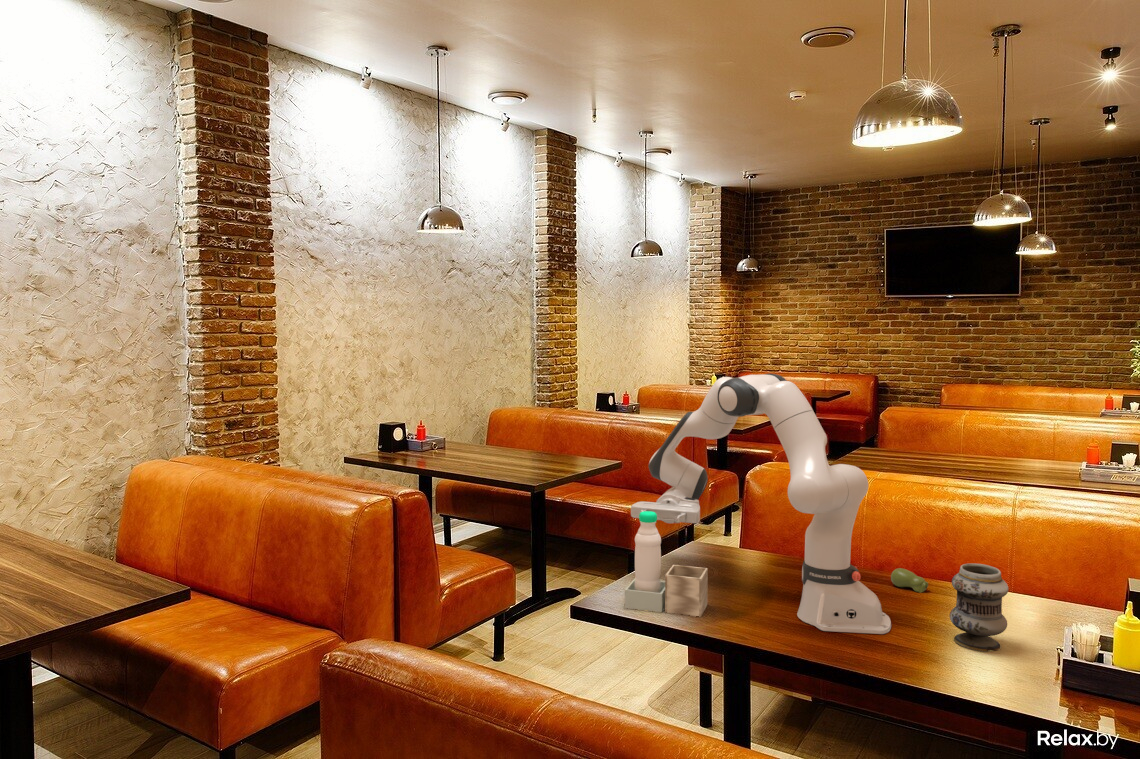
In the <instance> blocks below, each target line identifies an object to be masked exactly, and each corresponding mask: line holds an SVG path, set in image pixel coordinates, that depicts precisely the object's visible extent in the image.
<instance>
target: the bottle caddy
mask: <svg viewBox="0 0 1140 759" xmlns="http://www.w3.org/2000/svg"><path fill="white" fill-rule="evenodd" d="M627 608H628V610H635V609H639V610H638V611H643V610H649V611H648V612H652V611H655V612H654V613H660V612H662V611H663V612H664V611H665V609H664V608H665V580H664V581H662V580H661V589H660V593H655V592H646V591H637V590H635V577H634V579H633V580H632V581H631V582H630V583H629V584H628V585H627V587H626V588H624V609H627ZM663 612H662V613H663Z"/></svg>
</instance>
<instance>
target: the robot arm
mask: <svg viewBox="0 0 1140 759" xmlns="http://www.w3.org/2000/svg"><path fill="white" fill-rule="evenodd" d="M764 414H765V415H766V416H767V417H768V419H769V421H770V423H771V425H772V427H773V430H774V432H775V433H776V436H777V438H778V440H779V441H780V444H781V445H782V448H783V451H784V452H785V455H786V458H787V460H788V465H789V466H788V467H789V472H790V479H789V480H790V481H789V483H788V486H787V498H788V501H789V502H790V504H791V506H792V507H793V508H794V510H796V511H798V512H800V513H803V514H810V515H813V517H812V520H811V522H810V523H809V525H808V526H807V528H806V530H805V533H804V560H803V562H802V568H801V581H802V584H803V585H802V592H801V599H800V602H799V603H800V604H799V607H798V610H797V613H796V615H797V617H798V619H800V620H801V621H802V622H803V623H806V624H809V625H811V626H814V627H816V628H817V629H818V630H820V631H823V632H837V633H856V634H872V635H873V634H875V635H876V634H877V635H885V634H887V633H889V632H890V631H891V630H892V621H891V618H890V616H889V615H888V614H886V612H883V610H882V604H881V601H880V600H879V597H878V596H877V595H876V593H874V592H873V591H872V590H871V589H869V587H867V586H866V585H865V584H864V583H862V582H861V581H860V580H861V577H862V576H861V573H860V571H859V569H858V566H856V565H855V566H854V565H852V564H851V552H852V551H851V549H852V536H853V530H854V525H855V522H856V518H857V515H858V511H859V508H860V505H861V504H862V501H863V500H864V498H865V496H866V495H867V493H868V490H869V481H868V480H869V479H868V478H867V474H865V472H864V471H863V470H862V469H861V468H860V467H858V466H855V465H853V464H852V465H851V464H845V463H838V464H832V465H830V464H829V461H828V458H827V453H826V446H827V443H828V437H827V434H826V431H825V430H824V428H823V427H822V424H821V423H820V421H819V418H818V417H817V415H816V413H815V412H814V409H813V407H812V406H811V404H810V402H809V401H808V400H807V397H806V396H805V395H804V394H803V392H802V391H801V390H800V389H799V387H798V386H797V385H796V384H795V383H794V382H793V381H790V380H787V379H786V378H785V377H784V376H782V375H780V374H777V373H764V374H747V375H742V376H739V377H731V376H722V377H719V378H718V379H716V381H715V382H714V383H713V384H712V386H711V387H710V389H709V390H708V392H707V393H706V395H705V397H704V398H703V401H702V403H701V405H700V407H699V408H698V409H697V410H694V411H688V412H686V414H684V415H683V416H682V417H681V419H680V420H679V422H677V424H676V425H675V426H674V428H673V430H672V431H671V432H670V434H668V437H667V438H666V439H665V440H664V442H663V444H662V445H661V446H660V447H659V448H658V449H657V450H656V451H655V452H654V454H653V455H652V456H651V458H650V460H649V462H648V467H647V468H648V470H649V473H650V475H651V477H652V478H654V479H657V480H658V481H662V482H663V483H665V484H667V485H669V486H671V487H670V488H669V489H667V490H666V491H665V492H664V493H663V494H662V495H661V496H659V498H657V499H656V501H655V502H654V501H637V502H635V503H633V504H632V505H631V506H630V517H632V518H634V519H639V514H640V513H641V512H643V511H652V512H655V513H656V514H657V521H662V523H663V522H664V523H666V524H680V523H684V524H685V523H686V524H699V523H700V522H701V506H700V500H699V499H700V497H701V496H702V495H703V493H704V491H705V490H706V487H707V484H708V480H709V478H708V473H707V470H706V468H704V467H703V466H701V465H699V464H697V463H695V462H694V461H691V460H690V459H688V458H686V457H684V456H682V455H681V454H679V453H677V452H676V448H677V447H678V446H679V444H680V443H681V441H682V440H683V439H684V438H686V437H687V438H689V437H693V438H701V439H706V440H717V439H722V438H724V437H726V436H728V435H729V434H730V432H731V431H733V430H732V429H733V428H734V427H735V425H736V422H737V421H738V419H739V418H740V417H745V416H758V415H759V416H760V415H764Z"/></svg>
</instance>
